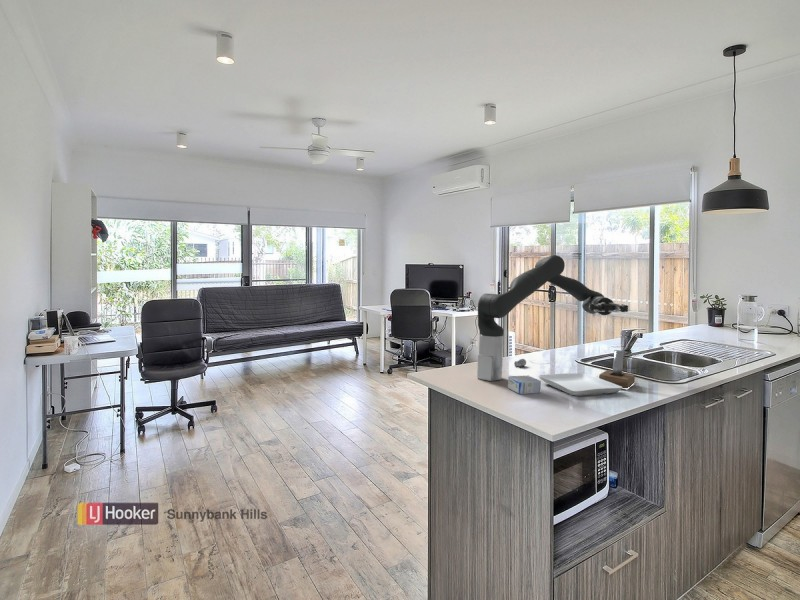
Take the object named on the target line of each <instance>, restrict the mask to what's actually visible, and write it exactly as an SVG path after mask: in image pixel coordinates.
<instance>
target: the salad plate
mask: <svg viewBox="0 0 800 600" xmlns="http://www.w3.org/2000/svg"><path fill="white" fill-rule="evenodd" d="M538 378H539V379H540V381H541V380H542V382H544V383H545V384H548V385H550V386H551V387H553V388H555V389H557V390H560V391H561V390H562V392H564V393H565V394H568V393H569V394H568V395H571V396H574V395H575V396H577V397H579V396H580V395H584V396H593V395H592V394H597V395H604V394H603V393H607V394H612V393H616V392H619V391H621V390H623V389H622V388H623V387H621V386H619V385H616V384H613V383H611V382H608V381H605V380H603V379H600V378H599V377H597V376H593V375H591V374H588V373H584V372H575V373H574V372H568V373H551V374H550V373H549V374H539V375H538ZM580 397H581V396H580Z"/></svg>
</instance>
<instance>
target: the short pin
mask: <svg viewBox="0 0 800 600" xmlns="http://www.w3.org/2000/svg"><path fill="white" fill-rule="evenodd" d="M526 365H527V360H526V359H525V358H520V359H517V360H515V361H514V367H515V368H517V367H519V368H522V367H524V366H526Z"/></svg>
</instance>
